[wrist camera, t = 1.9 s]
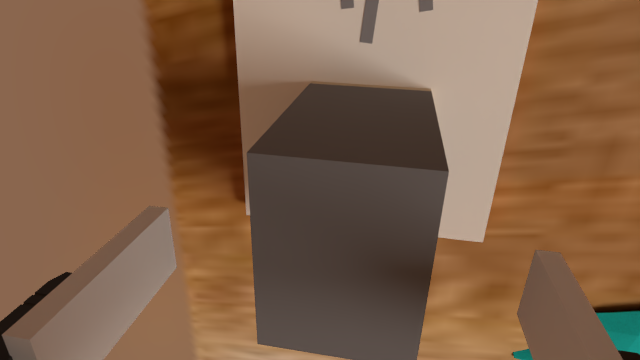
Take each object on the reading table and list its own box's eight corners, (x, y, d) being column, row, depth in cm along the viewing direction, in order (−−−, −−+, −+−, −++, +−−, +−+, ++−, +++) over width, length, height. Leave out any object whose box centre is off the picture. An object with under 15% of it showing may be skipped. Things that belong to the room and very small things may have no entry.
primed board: (227, -258, 18) (215, -273, 16) (592, -281, 15) (606, -301, 14) (252, 205, 27) (246, 215, 26) (479, 231, 25) (482, 242, 24)
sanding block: (311, 81, 22) (246, 152, 13) (431, 88, 21) (448, 171, 12) (309, 215, 25) (257, 344, 16) (412, 226, 24) (415, 369, 15)
